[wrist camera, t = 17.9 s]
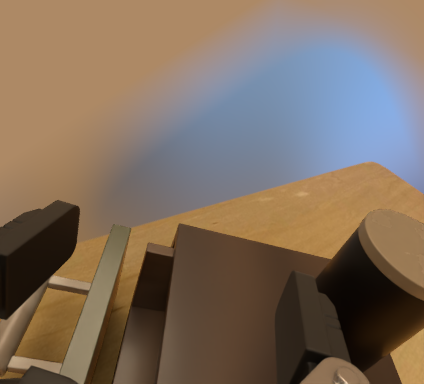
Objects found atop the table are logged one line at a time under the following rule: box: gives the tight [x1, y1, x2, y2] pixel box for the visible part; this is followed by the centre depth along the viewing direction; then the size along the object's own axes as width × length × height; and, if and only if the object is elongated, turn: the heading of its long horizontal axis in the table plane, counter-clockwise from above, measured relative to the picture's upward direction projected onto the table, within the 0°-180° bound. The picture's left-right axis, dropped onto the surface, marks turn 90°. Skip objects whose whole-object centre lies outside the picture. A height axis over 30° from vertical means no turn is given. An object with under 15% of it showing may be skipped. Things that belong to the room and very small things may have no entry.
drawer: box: [0, 224, 174, 384], centre depth 21 cm, size 17×11×8 cm
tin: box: [315, 209, 424, 373], centre depth 17 cm, size 5×5×8 cm
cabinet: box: [154, 224, 402, 384], centre depth 22 cm, size 14×13×10 cm
